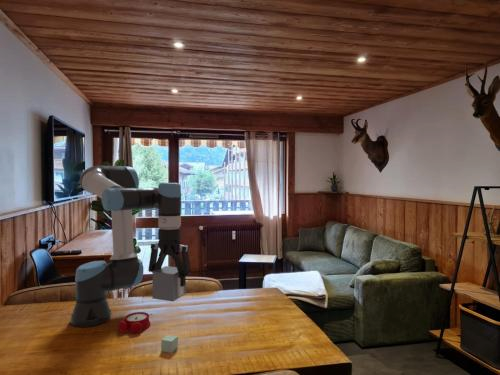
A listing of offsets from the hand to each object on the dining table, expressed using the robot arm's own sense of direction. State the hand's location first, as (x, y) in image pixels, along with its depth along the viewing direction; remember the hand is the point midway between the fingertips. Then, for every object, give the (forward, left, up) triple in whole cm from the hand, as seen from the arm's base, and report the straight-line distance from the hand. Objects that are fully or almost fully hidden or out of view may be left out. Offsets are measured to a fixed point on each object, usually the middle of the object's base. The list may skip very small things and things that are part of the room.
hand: (169, 293), depth 116 cm
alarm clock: (-22, +10, -20) cm, 31 cm away
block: (0, 0, -19) cm, 19 cm away
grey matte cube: (0, 0, -1) cm, 1 cm away
